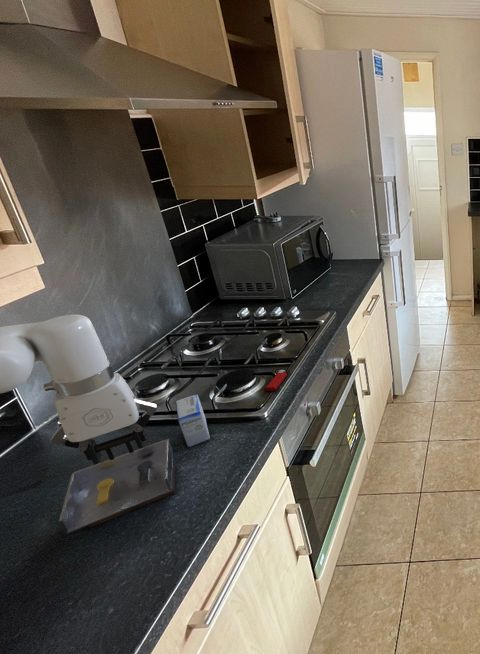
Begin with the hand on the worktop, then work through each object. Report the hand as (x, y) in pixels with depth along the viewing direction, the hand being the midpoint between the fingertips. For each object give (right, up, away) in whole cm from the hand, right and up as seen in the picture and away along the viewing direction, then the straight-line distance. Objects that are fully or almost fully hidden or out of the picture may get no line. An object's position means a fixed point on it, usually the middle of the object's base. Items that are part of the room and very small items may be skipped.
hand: (120, 451), depth 84 cm
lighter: (+12, +4, +36) cm, 38 cm away
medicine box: (+3, -3, +17) cm, 18 cm away
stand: (+2, -10, +1) cm, 10 cm away
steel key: (+5, -5, 0) cm, 7 cm away
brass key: (+1, -6, -4) cm, 7 cm away
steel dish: (+4, -6, -3) cm, 8 cm away
